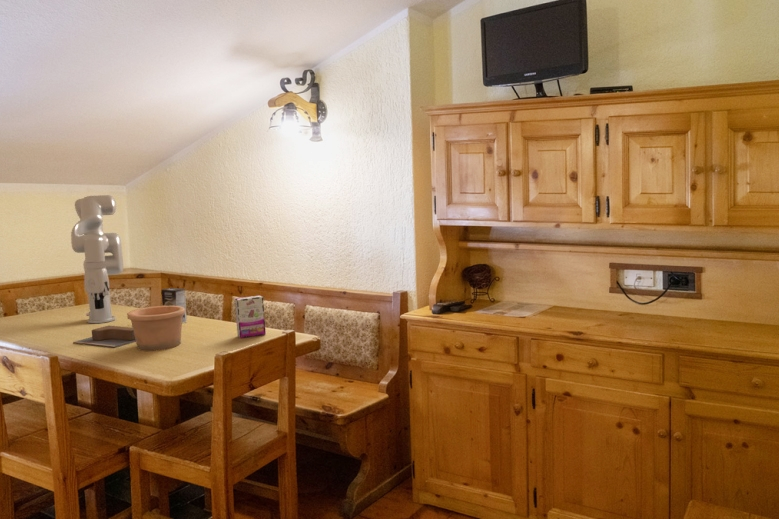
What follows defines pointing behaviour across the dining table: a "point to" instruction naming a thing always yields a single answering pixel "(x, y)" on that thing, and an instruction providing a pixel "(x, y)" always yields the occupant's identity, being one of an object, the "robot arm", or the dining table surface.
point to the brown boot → (113, 333)
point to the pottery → (157, 327)
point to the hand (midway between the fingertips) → (99, 308)
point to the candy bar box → (250, 316)
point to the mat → (105, 342)
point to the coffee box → (174, 299)
